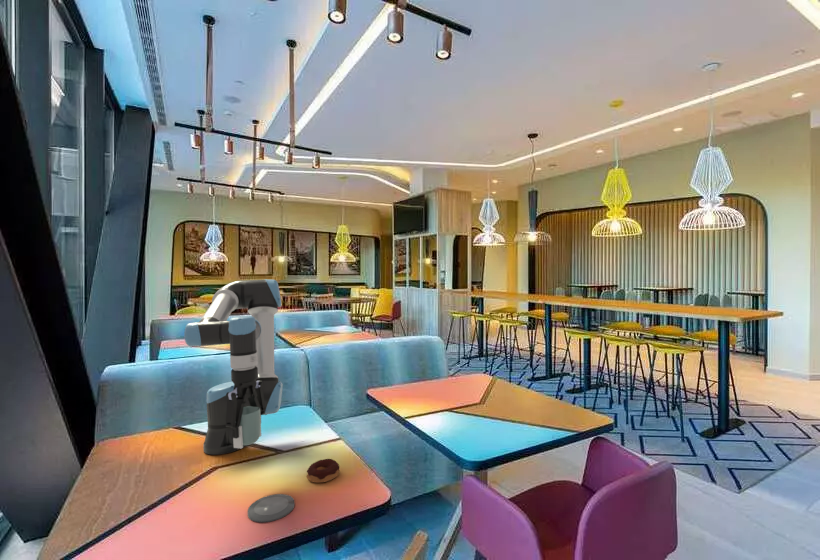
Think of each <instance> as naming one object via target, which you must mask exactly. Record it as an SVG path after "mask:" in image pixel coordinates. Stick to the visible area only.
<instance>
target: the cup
mask: <svg viewBox="0 0 820 560" xmlns="http://www.w3.org/2000/svg"><path fill="white" fill-rule="evenodd" d="M240 426H242V436H243V445H246V446H250V445H252V444H254V443H256V442H257V441H258V440H259V439H260V437H261V436H260V432H261V433H262V415H261V412H260V408H259V407H252V406H246V407H244V408H243V412H242V417H241V422H240ZM259 436H260V437H259Z"/></svg>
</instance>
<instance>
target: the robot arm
mask: <svg viewBox="0 0 820 560" xmlns="http://www.w3.org/2000/svg"><path fill="white" fill-rule="evenodd" d="M280 291H281V290H280V288H279V283H278V281H277V280H276V279H267V278H265V279H249V280H248V279H247V280H245V279H244V280H242V279H241V280H240V279H239V280H236V281H232V282H229V283H226V284H225V285H224V286H222V287H220V288H219V289H218V290H217V291H216V292H215V293H214V294H213V296H212V299H211V302H212V303H211V304H210V305H209V307H208V308H207V309H206V311H205V313H203V316H202V317H201V319H200V320H199V321H198V322H197V321H195V322H189V323H186V325H185V329H184V336H183V337H184V341H185V344H186V345H187V346H189V347H206V346H218V345H229V352H230V354H229V356H230V359H229V361H230V369H231V370H230V375H231V376H230V378H231V381H227V382H223V383H220V384H216V385H215V386H212V387H211V388H209V389H208V390H207V392H206V402H205V403H206V414H207V415H206V417H207V430H206V434H205V439H204V442H203V444H202V445H203V453H205V454H206V455H211V456H213V455H214V456H215V455H224V454H229V453H230V454H231V453H233V452H236V451H239V450H241V449H243V448H244V447H246V446H247V445H243V436H242V426H240V422H241V417H242V412H243V408H244V407H246V406H252V407H259V408H260V412H261V416H267V415H271V414H276V413H278V412H279V411H280V407H281V404H282V397H283V387H284V385H283V382H282V381H279V377H278V375H276V373H275V315H276V314H277V313H278V311H279V308H280V307H282V299H281V298H282V297H281V292H280ZM239 309H240V310H241V309H247V313H248V314H249V315H241V316H232V317H230V315H231V314H232V312H234V311H235V310H239ZM229 317H230V318H229ZM228 319H229V320H228ZM261 436H262V431H261V432H260V436H259V438H260V437H261Z"/></svg>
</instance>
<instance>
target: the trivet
mask: <svg viewBox="0 0 820 560" xmlns="http://www.w3.org/2000/svg"><path fill="white" fill-rule="evenodd" d="M295 504H296V503H295V499H294V498H293V496H292V495H289V494H285V493H276V494H275V493H274V494H269V495H267V496H263V497H261V498H259V499H257V500H255V501H253V503H251V504H250V505H249V507H248V509H247V517H248V519H249V520H250V521H252V522H255V523H270V522H275V521H279V520H280V519H283V518H284V517H287V516H288V515H289V514H290V513H291V512H292V511H293V510H294V508H295Z"/></svg>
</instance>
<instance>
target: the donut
mask: <svg viewBox="0 0 820 560" xmlns="http://www.w3.org/2000/svg"><path fill="white" fill-rule="evenodd" d="M339 474H340V465H339V463H338V462H337V461H336V460H334V459H332V458H324V459H319V460H317V461H315V462H313V463H311V464H310V466H309V467H308V468H307V470H306V479H307V480H308V481H310V482H312V483H316V484H320V483H325V482H330V481H332V480H333V479H335V478H337V477H338V476H339Z"/></svg>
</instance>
